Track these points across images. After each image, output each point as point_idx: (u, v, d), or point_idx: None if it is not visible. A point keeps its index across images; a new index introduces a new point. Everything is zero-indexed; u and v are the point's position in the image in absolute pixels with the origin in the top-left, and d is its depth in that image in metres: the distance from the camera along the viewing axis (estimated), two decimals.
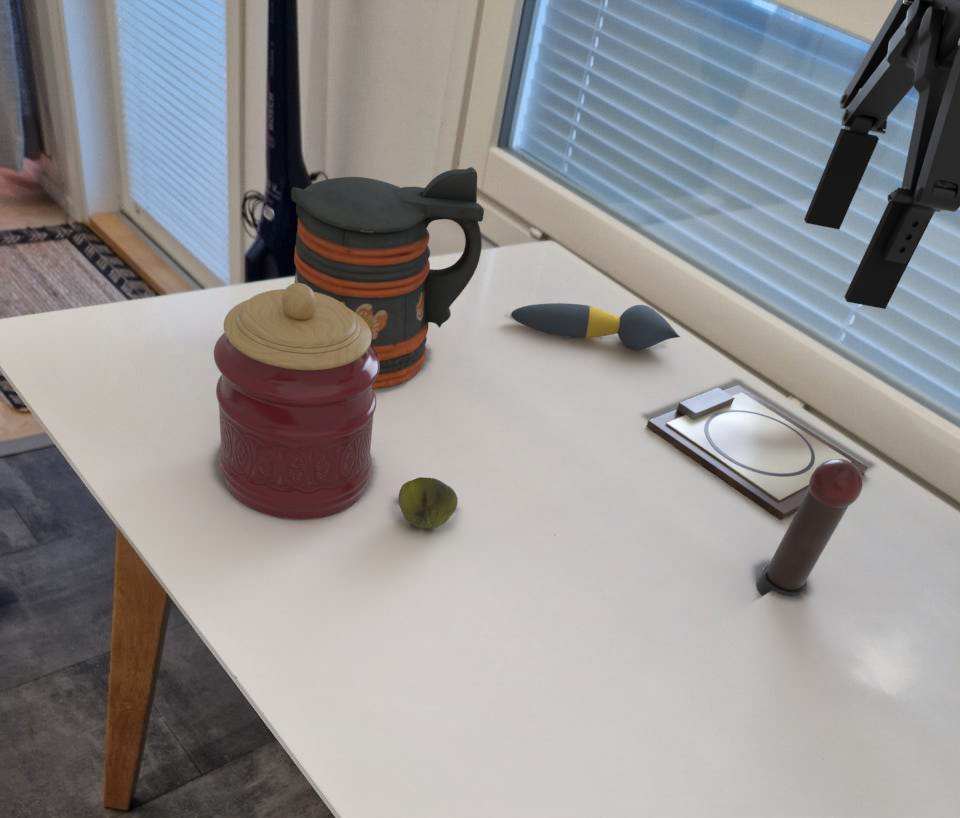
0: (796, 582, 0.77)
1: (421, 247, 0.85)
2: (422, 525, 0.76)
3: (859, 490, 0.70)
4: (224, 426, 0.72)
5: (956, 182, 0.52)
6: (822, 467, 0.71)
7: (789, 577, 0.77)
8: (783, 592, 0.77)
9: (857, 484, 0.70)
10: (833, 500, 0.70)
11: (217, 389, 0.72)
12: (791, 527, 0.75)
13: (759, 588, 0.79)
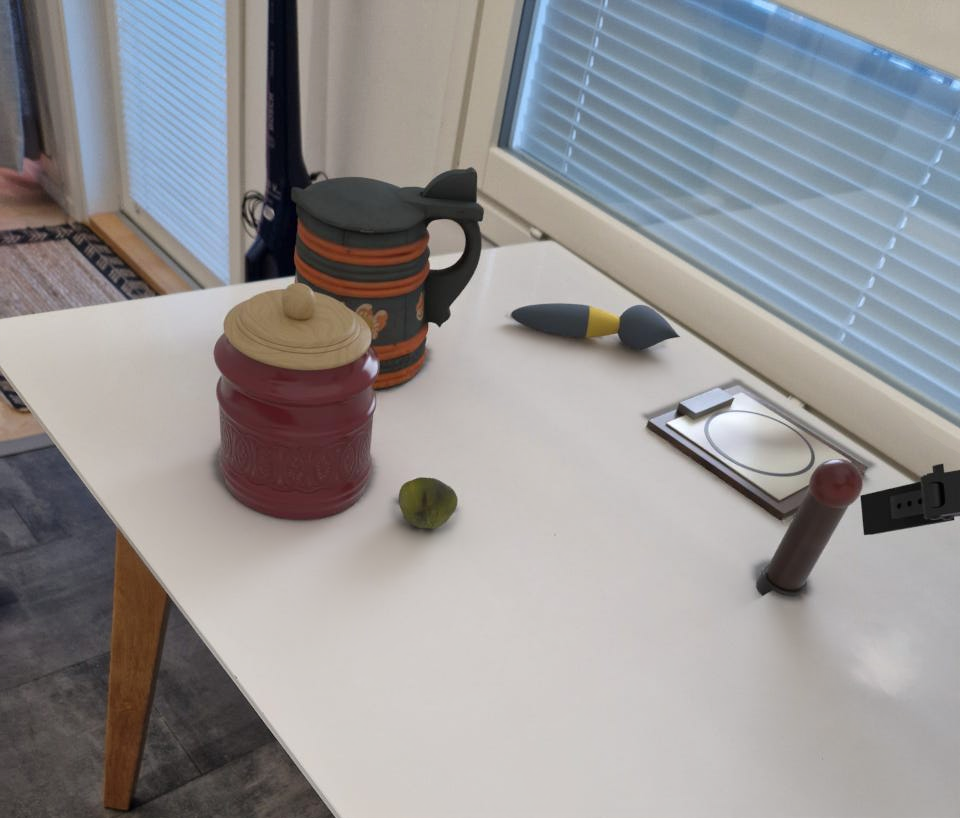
0: (796, 582, 0.77)
1: (421, 247, 0.85)
2: (422, 525, 0.76)
3: (859, 490, 0.70)
4: (224, 426, 0.72)
5: None
6: (822, 467, 0.71)
7: (789, 577, 0.77)
8: (783, 592, 0.77)
9: (857, 484, 0.70)
10: (833, 500, 0.70)
11: (217, 389, 0.72)
12: (791, 527, 0.75)
13: (759, 588, 0.79)
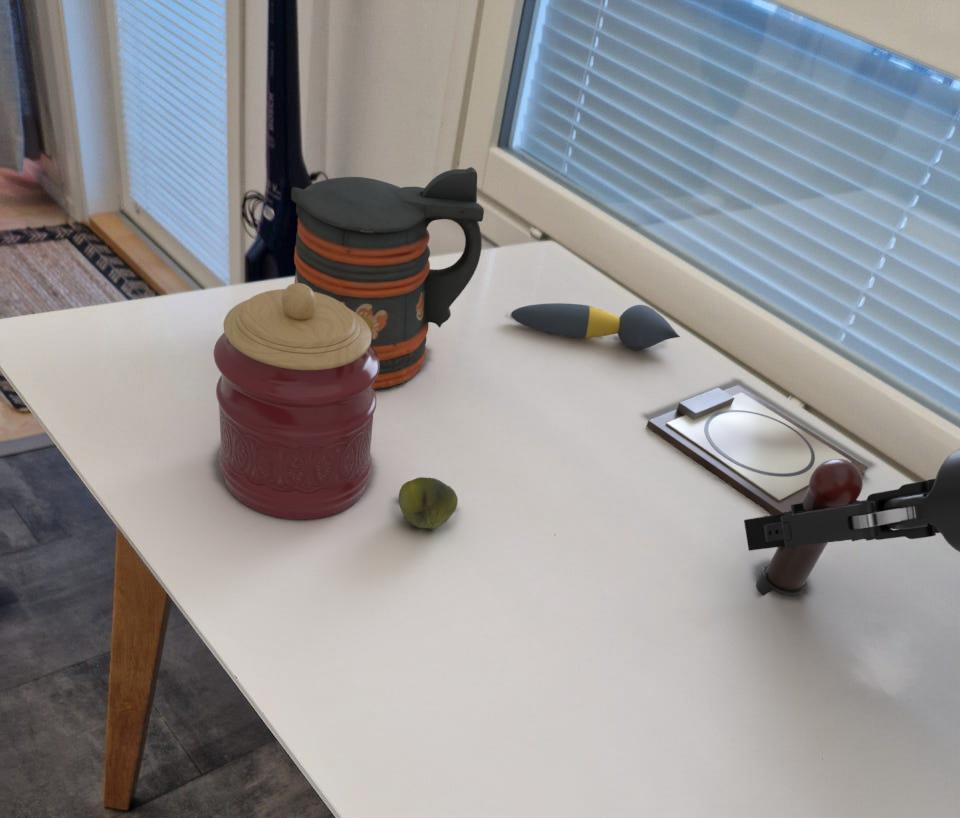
0: (796, 582, 0.77)
1: (421, 247, 0.85)
2: (422, 525, 0.76)
3: (859, 490, 0.70)
4: (224, 426, 0.72)
5: None
6: (822, 467, 0.71)
7: (789, 577, 0.77)
8: (783, 592, 0.77)
9: (857, 484, 0.70)
10: (833, 500, 0.70)
11: (217, 389, 0.72)
12: None
13: (759, 588, 0.79)
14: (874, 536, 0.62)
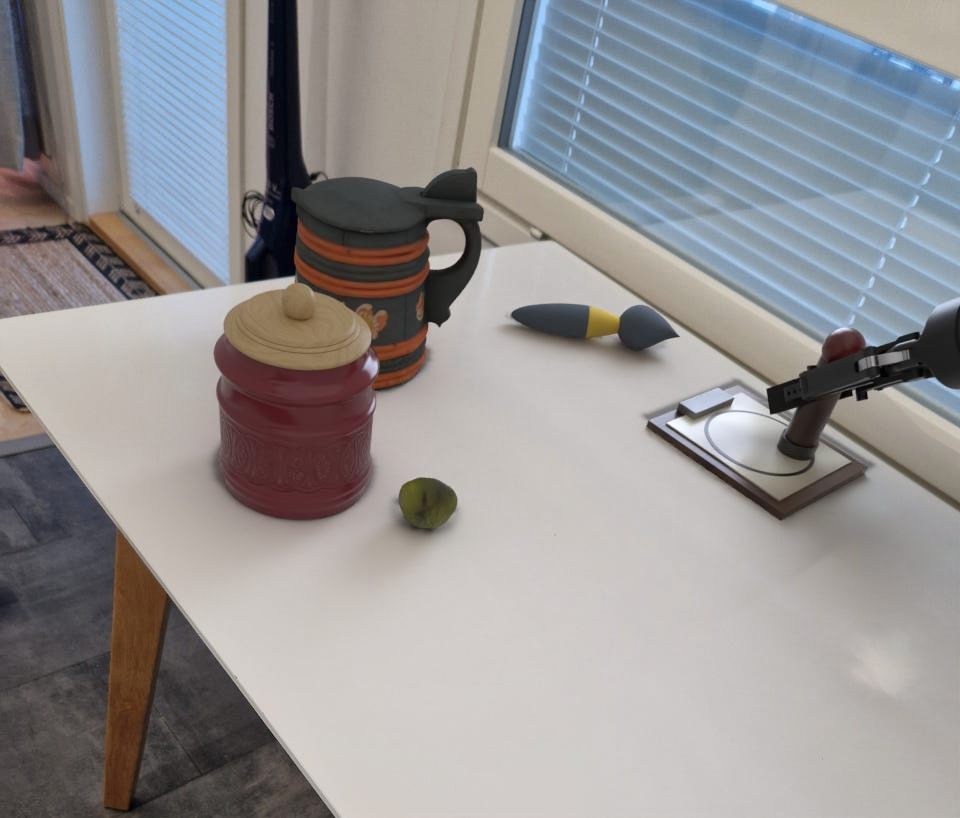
0: (810, 438, 0.92)
1: (421, 247, 0.85)
2: (422, 525, 0.76)
3: None
4: (224, 426, 0.72)
5: None
6: (833, 333, 0.86)
7: (804, 434, 0.92)
8: (800, 447, 0.93)
9: (861, 346, 0.85)
10: None
11: (217, 389, 0.72)
12: None
13: (779, 447, 0.94)
14: (876, 374, 0.77)
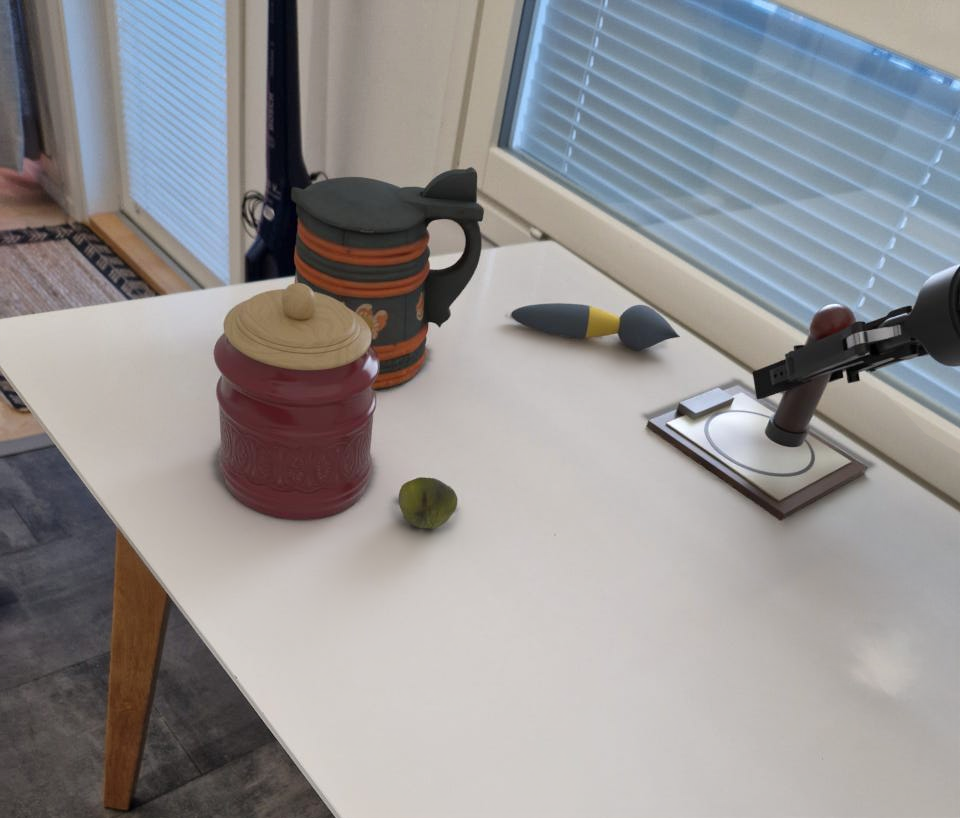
0: (800, 424, 0.87)
1: (421, 247, 0.85)
2: (422, 525, 0.76)
3: None
4: (224, 426, 0.72)
5: None
6: (820, 311, 0.81)
7: (793, 419, 0.87)
8: (789, 433, 0.87)
9: (851, 323, 0.80)
10: None
11: (217, 389, 0.72)
12: None
13: (767, 434, 0.89)
14: (865, 351, 0.72)
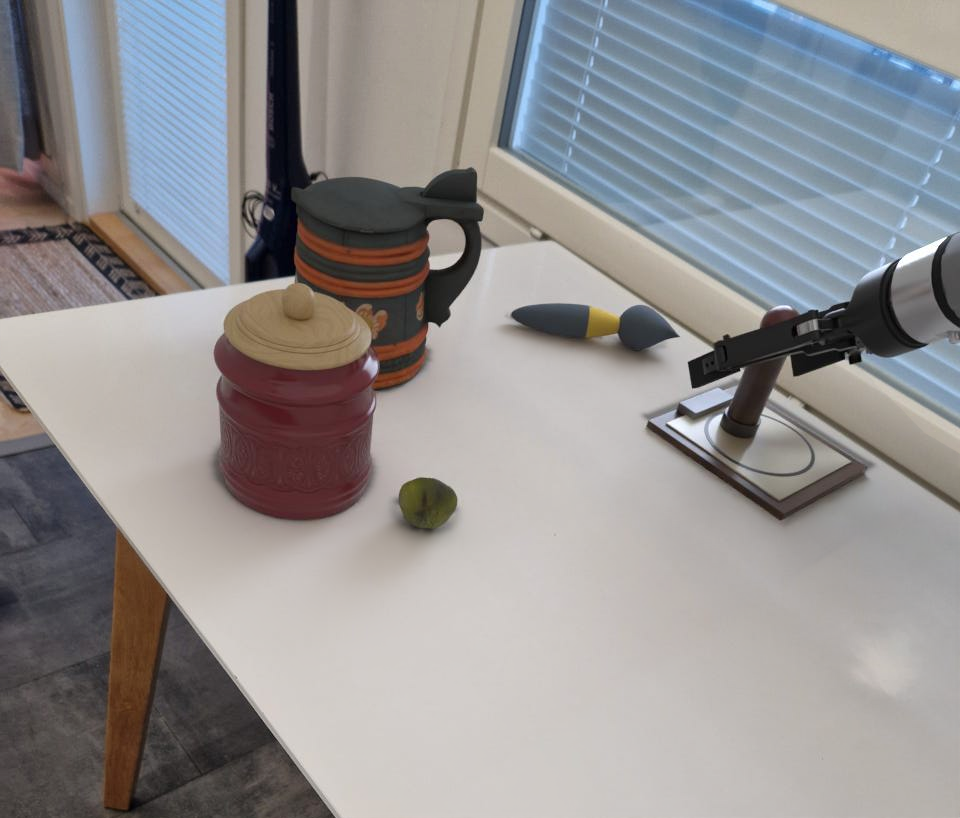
0: (751, 416, 0.93)
1: (421, 247, 0.85)
2: (422, 525, 0.76)
3: None
4: (224, 426, 0.72)
5: None
6: (769, 311, 0.87)
7: (745, 412, 0.93)
8: (741, 425, 0.94)
9: None
10: None
11: (217, 389, 0.72)
12: (746, 367, 0.91)
13: (722, 425, 0.95)
14: (821, 337, 0.76)
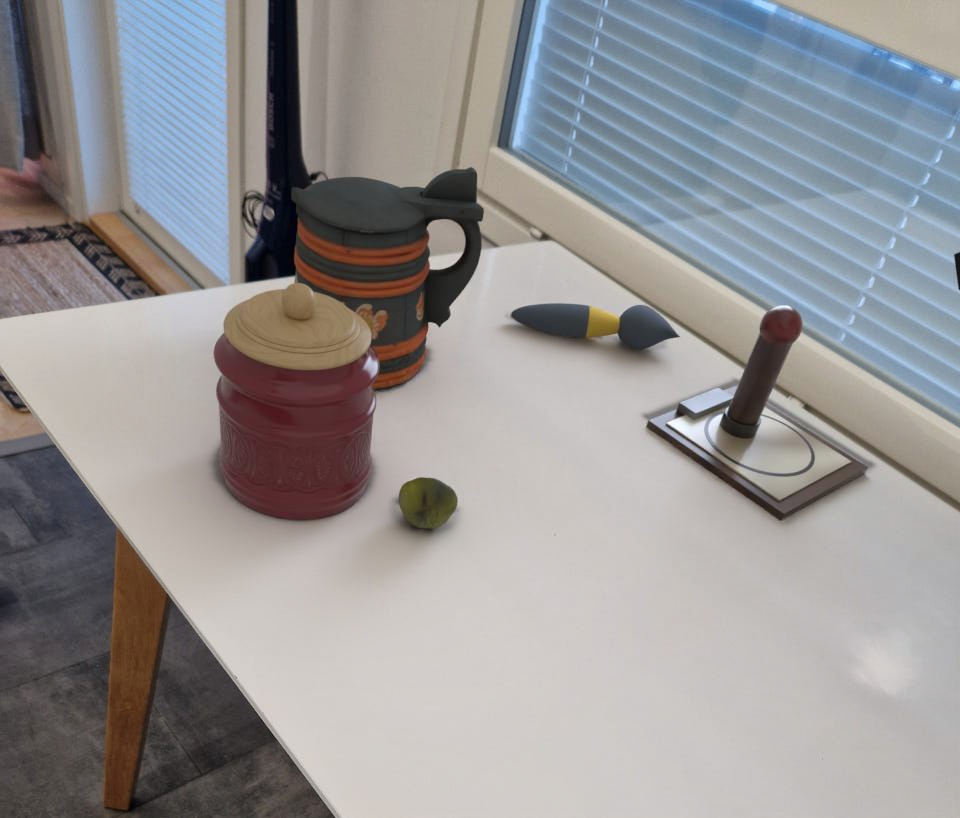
0: (751, 416, 0.93)
1: (421, 247, 0.85)
2: (422, 525, 0.76)
3: (799, 329, 0.87)
4: (224, 426, 0.72)
5: None
6: (769, 311, 0.87)
7: (745, 412, 0.93)
8: (741, 425, 0.94)
9: (797, 324, 0.86)
10: (778, 337, 0.87)
11: (217, 389, 0.72)
12: (746, 367, 0.91)
13: (722, 425, 0.95)
14: None
